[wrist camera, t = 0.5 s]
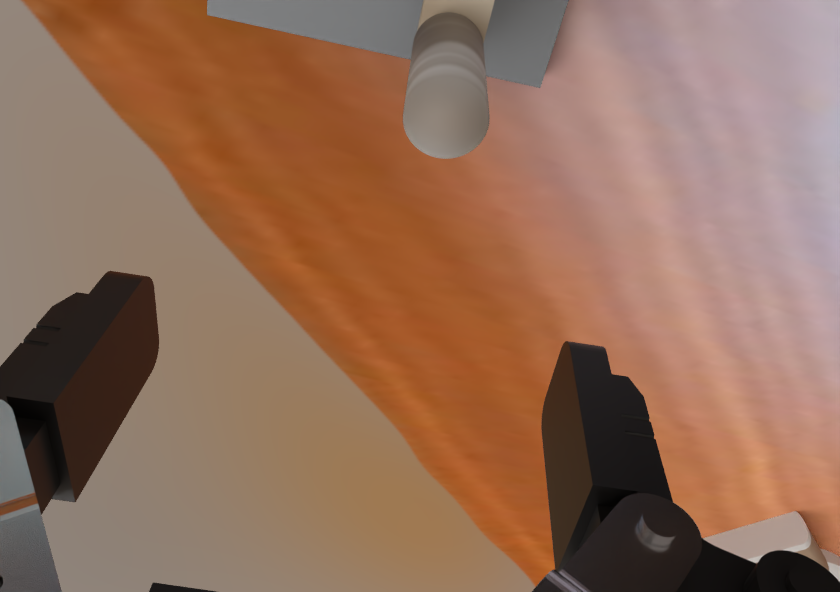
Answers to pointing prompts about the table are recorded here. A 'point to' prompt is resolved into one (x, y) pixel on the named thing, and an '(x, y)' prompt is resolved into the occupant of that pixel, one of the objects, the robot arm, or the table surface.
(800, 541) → the record player
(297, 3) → the board
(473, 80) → the lever
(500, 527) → the table surface
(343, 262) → the table surface
